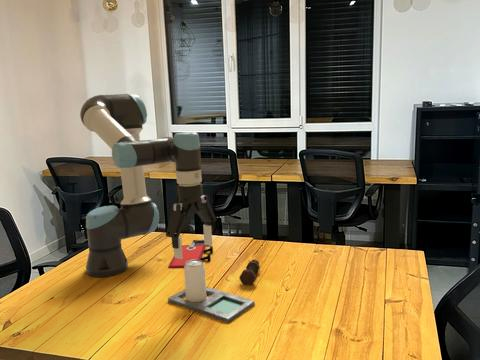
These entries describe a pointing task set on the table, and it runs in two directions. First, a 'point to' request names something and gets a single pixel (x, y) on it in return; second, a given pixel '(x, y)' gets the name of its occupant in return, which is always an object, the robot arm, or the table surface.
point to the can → (195, 280)
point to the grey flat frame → (211, 301)
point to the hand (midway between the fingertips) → (194, 251)
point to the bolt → (250, 273)
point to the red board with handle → (191, 254)
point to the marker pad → (225, 306)
